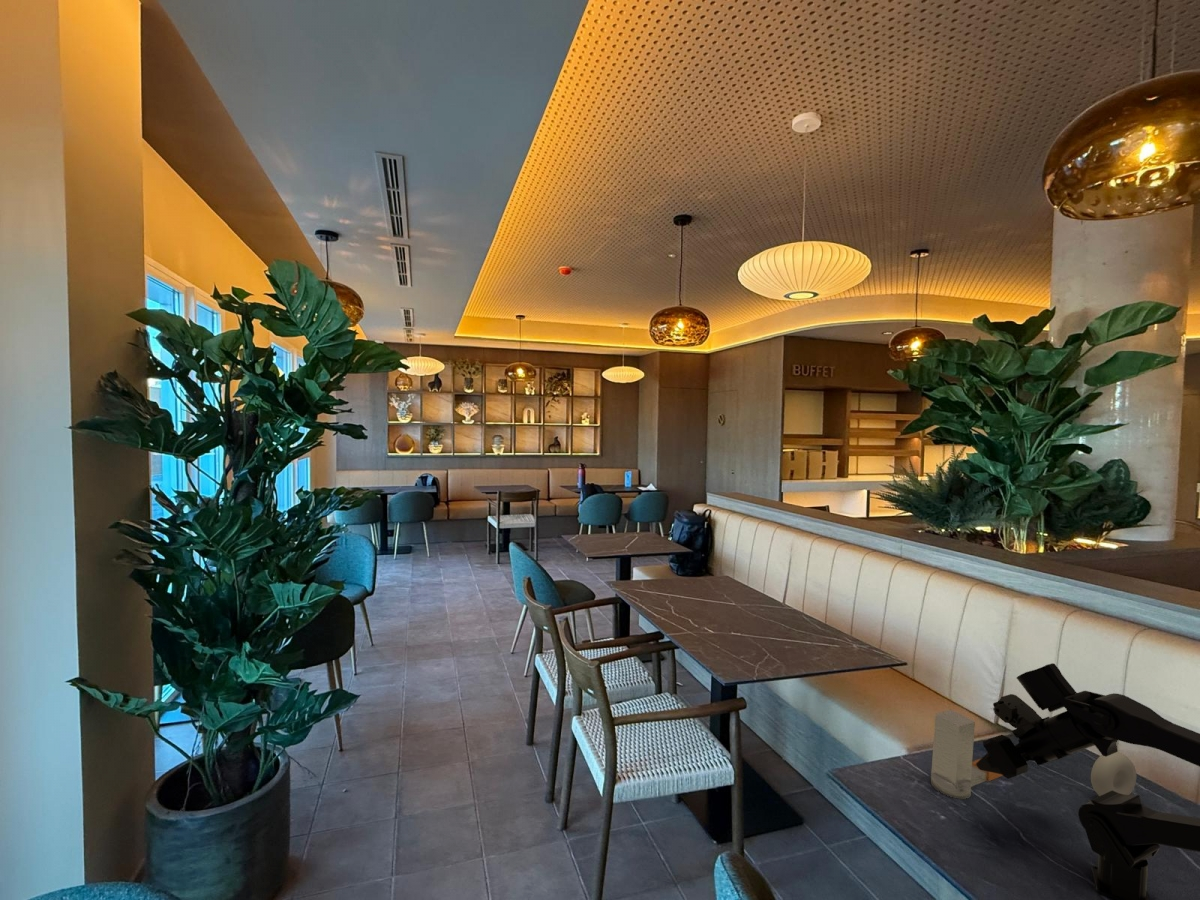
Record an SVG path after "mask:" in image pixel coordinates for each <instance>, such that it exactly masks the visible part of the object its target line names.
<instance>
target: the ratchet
mask: <svg viewBox="0 0 1200 900" xmlns="http://www.w3.org/2000/svg"><path fill="white" fill-rule="evenodd" d="M980 759H981V758H978V759H975V760H972V771H971V780H970V781H968V782H965V783H962V784H960V785H957V786H954V785H953V784H951V783H949V782H948V781H946V780H945V779H943V778H941V777H940V776H938V775H936V774H935V773H933V772H932V769H931V772H930V784H931V786H932V787H933V788H934V789H935V790H936V791H937V792H939V791H940V792H941V793H940V792H939V793H940V794H942V793H943V794H942V795H944V794H945V795H944V796H946V795H947V797H949V796H950V798H952V797H953V798H952V799H956V798H959V799H958V800H967V799H970V797H971V795H972V793H971V792H972V788H973V787H974V786H977V785H980V784H981V783H985V782H986V781H987V782H990V781H992V780H995V779H998V778H1000V777H1004V776H1003V775H1001V774H997V773H993V772H988V771H983V770H980V769H979V768H978V767H977V765H976V763H977V762H978V761H979V760H980ZM966 798H967V799H966Z"/></svg>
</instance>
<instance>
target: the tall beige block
mask: <svg viewBox="0 0 1200 900" xmlns="http://www.w3.org/2000/svg"><path fill="white" fill-rule="evenodd" d="M934 715H935V718H934V731H933V742H932V743H933V745H932V759H931V770H932V772H933V773H935V774H936V775H938V776H940V777H941V778H943V779H945V780H946V781H948V782H949V783H951V784H953V785H954V786H957V785H960V784H962V783H965V782H968V781H970V780H971V771H972V762H973V757H974V753H973V752H974V743H975V739H974V738H975V728H976V721H975V720H973V719H971V718H969V717H967V716H965V715H962V714H961V713H959V712H957V711H954V710H952V709H948V710H945V711H941V712H938V713H935V714H934Z"/></svg>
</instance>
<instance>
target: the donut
mask: <svg viewBox="0 0 1200 900" xmlns="http://www.w3.org/2000/svg"><path fill="white" fill-rule="evenodd" d="M1090 781H1091V786H1092V788H1093V790H1094V791H1095V793H1096V794H1097V795H1098V797H1099V796H1101V795H1103V794H1105V793H1107V792H1110V791H1112V790H1113V791H1115V792H1117V793H1120V794H1124V795H1131V793H1132V792H1133V791H1134V788H1135V786H1136V782H1137V769H1136V765H1135V764H1134V762H1133V761H1132V759H1130V758H1129V756H1127V755H1126V754H1123V752H1120V751H1117V752H1116V753H1114V754H1111V755H1109V756H1107V757H1105V756H1103V755H1102V754H1101V755H1100V756H1098V757H1097V759H1096V760H1095V762H1094V763H1093V766H1092V768H1091V772H1090Z"/></svg>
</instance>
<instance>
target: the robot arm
mask: <svg viewBox="0 0 1200 900" xmlns="http://www.w3.org/2000/svg"><path fill="white" fill-rule="evenodd" d="M1016 679H1017V681H1018V682H1019V683H1020V684H1021V686H1022V688H1023V689H1024V690H1025V691H1026V692H1027V694H1028V695H1029V697H1030V698H1031V699H1032V701H1034V703H1035V705H1036V706H1037V707H1038V708H1039V709H1041V710H1042V711H1044V710H1048V712H1049V713H1051V712H1055V711H1058V710H1061V709H1063V708H1065V711H1063V712H1060V713H1058V714H1056V715H1054V716H1051V717H1050V716H1047V717H1044V718H1043V717H1042V716H1041V715H1039V714H1038V713H1037V711H1036V710H1035V709H1034V708H1032V707H1031V706H1030V705H1029V704H1028V703H1026V702H1025V701H1024V700H1022V698H1021V697H1020V696H1017V695H1016V694H1013V693H1012V694H1011V693H1010V694H1007V695H1004V696H1001V697H1000V698H999V699H998V701H996V702H993V703H992V706H993V712H994V714H995V715H996V716H997V717H998V718H999V719H1000V720H1001V721H1003V722H1004V723H1006V724H1009V725H1010V726H1011V727H1013V728H1014V729H1012V730H1011V732H1012V734H1013V735H1014V737H1015V738H1017V739H1018V743H1017V744H1016V745H1015V743H1013V741H1012V740H1011V738H1010V737H1008V736H1006V735H1004V734H1000V735H997V736H994V737H991V738H988V739H986V740H983V741H982V745H983V748H984V749H985V750H986V754H984V755H983V756H982V757H981V758H979V759H980V760H979V761H978V762H977V763H976V765H977V767H978V768H979V769H980V770H983V771H988V772H993V773H997V774H1001V775H1003V776H1002V777H1005V778H1006V779H1011V778H1014V777H1017V776H1020V775H1022V774H1025V773H1027V772H1028V770H1029V769H1028V767H1029V765H1028V763H1027V762H1029V761H1031V762H1034V763H1035V764H1036V765H1037V766H1041V765H1044V764H1046V763H1049V762H1053V761H1057V760H1060V759H1063V758H1065V757H1069V756H1070V755H1072V754H1074V753H1077V752H1080V751H1082V750H1085V749H1088V748H1091V747H1096V749H1097V750H1098V751H1099V753H1100V754H1101V755H1103V756H1105V757H1107V756H1109V755H1111V754H1114V753H1116V752H1119V751H1118V745H1117V742H1118V741H1120V742H1123V743H1126V744H1131V745H1136V746H1137V745H1138V746H1143V747H1147V748H1153V749H1156V750H1159V751H1162V752H1165V753H1167V754H1169V755H1171V756H1174V757H1176V758H1178V759H1180V760H1183V761H1184V762H1188V763H1190V764H1193V765H1195V766H1198V767H1199V768H1200V733H1199V732H1197V731H1194V730H1192V729H1189V728H1186V727H1184V726H1181V725H1178V724H1176V723H1173V722H1171V721H1170V720H1167V719H1165V718H1164V717H1162V716H1161V715H1159V713H1157V712H1156V711H1154V710H1153V709H1152V708H1150V707H1149V706H1147V705H1144V704H1143V703H1141V702H1138V701H1136V700H1135V699H1133V698H1131V697H1129V696H1126V695H1124V694H1121V693H1117V692H1116V693H1114V692H1113V693H1109V694H1106V695H1105V694H1101V693H1096V692H1093V691H1090V690H1089V691H1088V690H1082V691H1078V692H1077V691H1076V689H1074V687H1073V686H1072V685H1071V684H1070V683H1069V682H1068V680H1067V679H1066V678H1065V676H1064V675H1063V674H1062V672H1061V670H1060V669H1059V667H1058V666H1057V665H1056V664H1055V663H1049V664H1046V665H1043V666H1041V667H1039V668H1036V669H1032V670H1029V671H1025V672H1023V673H1022V674H1020V675H1018V676H1017V677H1016ZM1078 818H1079V822H1080V823H1081V826H1082V827H1083V829H1084V830H1085V833H1086V836H1087V839H1088V843H1089V846H1090V849H1091V850H1092V851H1093V853H1095V854H1097V855H1098V858H1097V859H1098V860H1097V865H1096V866H1095V865H1091V871H1092V876H1093V881H1094V884H1095V888H1096V892H1098V893H1099V894H1100V895H1103V896H1105V897H1108V898H1111V899H1114V900H1151V899H1150V896H1149V894H1148V890H1147V885H1148V870H1149V869H1148V867H1149V866H1148V865H1149V863H1148V860H1147V859H1149V858H1151V857H1154V856H1156V854H1157V853H1158V851H1159V850H1160V848H1161V846H1166V847H1170V848H1177V849H1182V850H1187V851H1191V852H1192V851H1193V852H1197V853H1200V817H1194V816H1193V817H1192V816H1188V815H1187V816H1186V815H1180V814H1174V813H1168V812H1161V811H1156V810H1153V809H1151V808H1149V807H1147V806H1146V805H1144V804H1142V800H1141V797H1140V795H1139V794H1130V795H1124V794H1120V793H1117V792H1115V791H1113V790H1112V791H1110V792H1107V793H1105V794H1103V795H1101V796H1099V795H1098V796H1097V797H1095V798H1092V799H1091V800H1090V801H1088V802H1086V803H1084V804H1082V805H1081V806H1080V807H1079V809H1078ZM1160 845H1161V846H1160Z"/></svg>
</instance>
